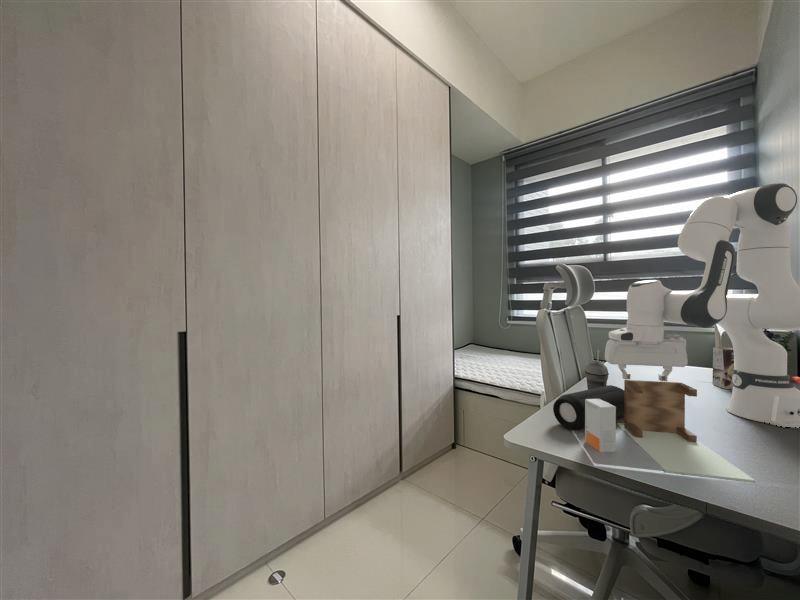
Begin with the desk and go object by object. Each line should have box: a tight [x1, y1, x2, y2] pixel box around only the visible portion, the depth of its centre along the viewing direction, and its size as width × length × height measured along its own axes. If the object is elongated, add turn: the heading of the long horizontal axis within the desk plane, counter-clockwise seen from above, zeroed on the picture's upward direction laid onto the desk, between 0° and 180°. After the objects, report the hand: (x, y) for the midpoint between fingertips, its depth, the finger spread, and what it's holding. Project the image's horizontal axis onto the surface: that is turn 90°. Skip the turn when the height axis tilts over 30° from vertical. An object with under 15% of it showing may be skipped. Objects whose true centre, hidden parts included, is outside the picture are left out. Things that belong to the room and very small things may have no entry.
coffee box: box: [712, 346, 734, 390], centre depth 129 cm, size 9×6×16 cm
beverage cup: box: [584, 349, 610, 390], centre depth 111 cm, size 7×7×20 cm
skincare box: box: [584, 399, 617, 453], centre depth 81 cm, size 6×4×12 cm
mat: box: [616, 422, 756, 483], centre depth 80 cm, size 16×26×1 cm, turn 165°
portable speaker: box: [552, 384, 624, 430], centre depth 97 cm, size 26×10×10 cm, turn 115°
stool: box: [623, 379, 698, 443], centre depth 87 cm, size 14×7×14 cm, turn 75°
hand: (644, 379), depth 94 cm, fingers open, 8 cm apart
